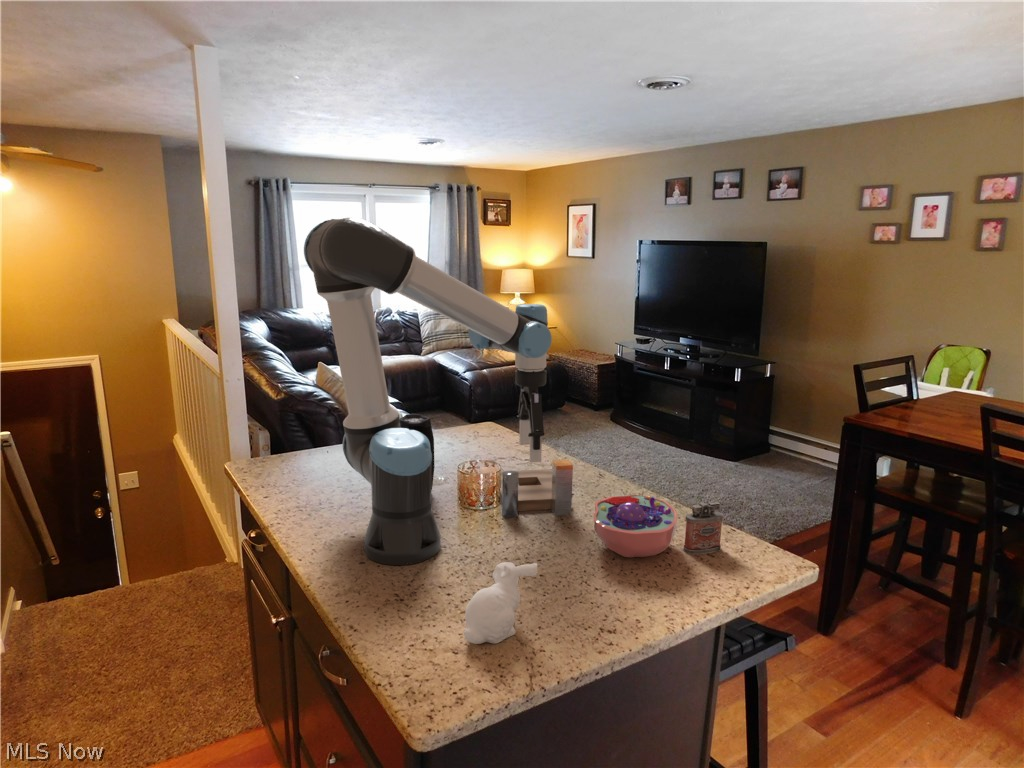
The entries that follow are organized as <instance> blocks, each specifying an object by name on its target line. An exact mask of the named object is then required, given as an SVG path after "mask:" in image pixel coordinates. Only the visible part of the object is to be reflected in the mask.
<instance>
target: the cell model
mask: <svg viewBox="0 0 1024 768" xmlns="http://www.w3.org/2000/svg"><path fill="white" fill-rule="evenodd" d="M594 511H595V512H594V514H593V521H594V532H595V534H596V536H597V537H599V539H600V540H601V542H603V543H604V545H605V546H606V547H607V548H608V549H609V550H610V551H612V552H614V553H616V554H618V555H619V556H622V557H624V558H644V557H652V556H656V555H658V554H660V553H662V552H664V551H666V549H667V548H669V546H670V545H671V543H672V541H673V540H674V536H675V533H676V529H677V522H678V512H677V511H676V509H675V508H674V507H673V506H672V505H671V504H670V503H669V502H668V501H666V500H664V499H659V498H657V497H654V496H649V495H640V494H639V495H638V494H633V495H614V496H609V497H606V498H603V499H600V500H598V501H596V502H595V503H594Z"/></svg>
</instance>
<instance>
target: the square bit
mask: <svg viewBox="0 0 1024 768" xmlns="http://www.w3.org/2000/svg"><path fill="white" fill-rule="evenodd" d="M551 466H552V498H551V509H550V510H551V512H552V513H553V515H554V516H555V517H560V516H572V503H573V502H572V500H573V477H574V476H573V474H574V471H573V470H574V465H573V463H572V461H570V460H569V459H558V460H557V459H554V460H552V465H551Z"/></svg>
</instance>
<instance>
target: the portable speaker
mask: <svg viewBox="0 0 1024 768" xmlns="http://www.w3.org/2000/svg"><path fill="white" fill-rule="evenodd" d="M399 419H400V425H401V428H407V429H409V430H416V431H418V432H421V433H422V434H424V435H425V436H426V437H427V438H428V440H429V442H430V448H431V453H432V461H431V492H432V490H433V487H434V486H433V484H434V478H435V477H434V474H435V439H434V438H435V437H434V433H433V429H432V427H433V426H432V422H431V417H429V416H426V415H422V414H421V413H408V414H405V415H404V416H402V417H401V418H400V417H399Z"/></svg>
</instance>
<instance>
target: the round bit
mask: <svg viewBox="0 0 1024 768" xmlns="http://www.w3.org/2000/svg"><path fill="white" fill-rule="evenodd" d="M504 471H505V472H503V480H502V505H501V517H503V518H506V519H514V518H517V517H518V516H519V513H518V512H519V511H518V478H519V473H518V472H516V471H517V470H504Z"/></svg>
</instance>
